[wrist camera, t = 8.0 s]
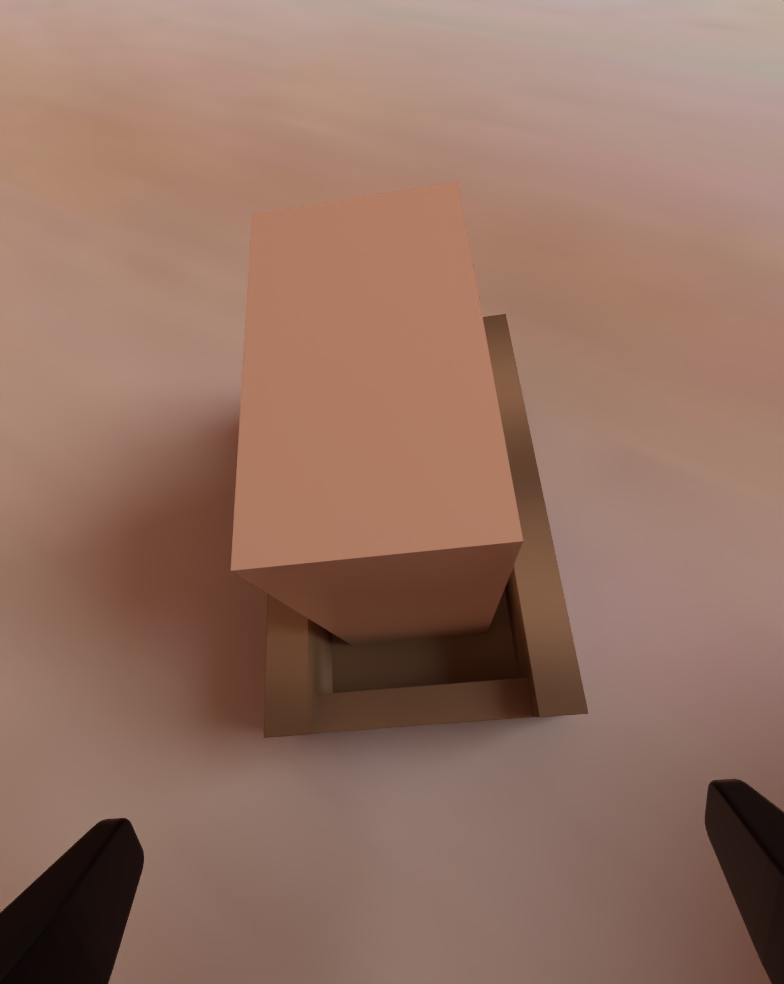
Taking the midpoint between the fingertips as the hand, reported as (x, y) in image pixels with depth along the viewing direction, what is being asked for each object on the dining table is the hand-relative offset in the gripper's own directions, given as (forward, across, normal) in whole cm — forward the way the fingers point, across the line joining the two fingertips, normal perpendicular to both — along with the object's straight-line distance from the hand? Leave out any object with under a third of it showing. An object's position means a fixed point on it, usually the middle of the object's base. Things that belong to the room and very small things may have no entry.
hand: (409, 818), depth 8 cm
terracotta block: (+11, 0, 0) cm, 11 cm away
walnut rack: (+12, 0, +1) cm, 12 cm away
